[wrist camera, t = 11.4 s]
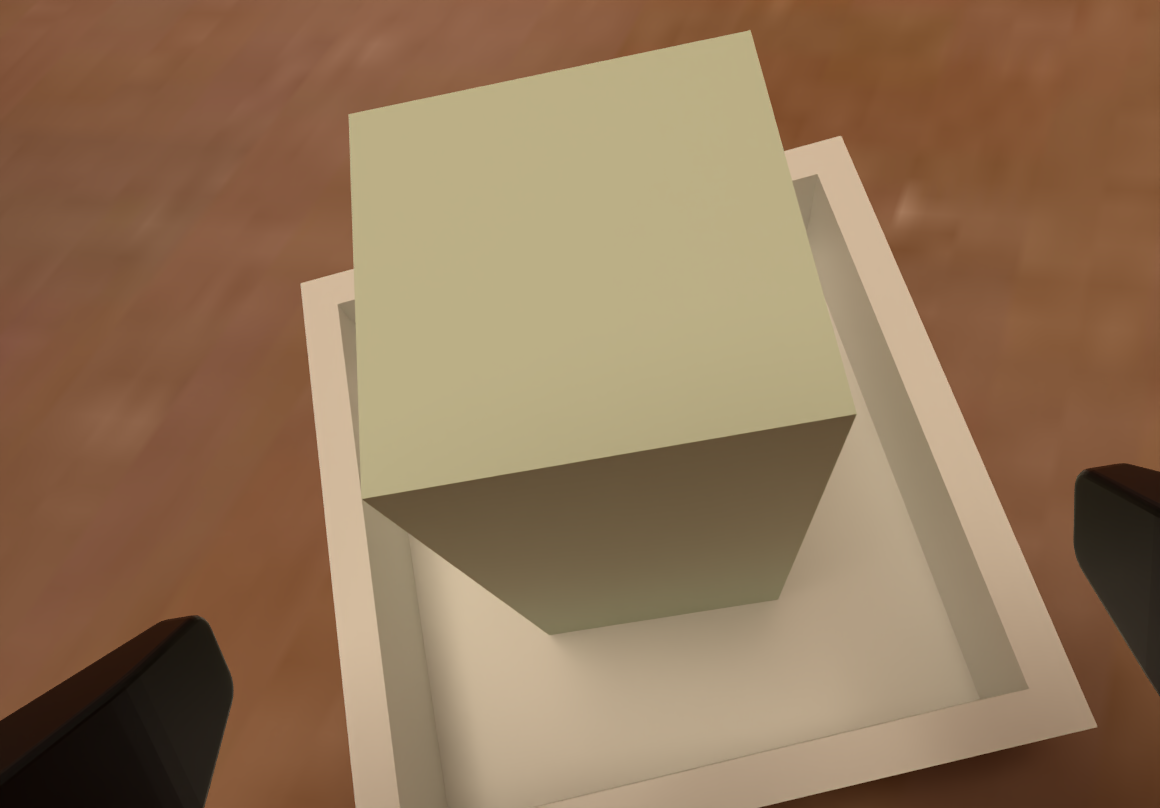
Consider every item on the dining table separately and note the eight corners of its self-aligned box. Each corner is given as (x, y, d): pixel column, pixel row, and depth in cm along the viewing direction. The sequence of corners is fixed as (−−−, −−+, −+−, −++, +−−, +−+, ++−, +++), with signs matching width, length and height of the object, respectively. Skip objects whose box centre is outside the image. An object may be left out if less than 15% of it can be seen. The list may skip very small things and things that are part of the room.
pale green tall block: (777, 599, 18) (856, 413, 8) (549, 635, 19) (361, 499, 9) (731, 387, 20) (750, 30, 10) (525, 424, 21) (348, 114, 11)
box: (1026, 732, 17) (1097, 727, 14) (427, 874, 18) (365, 901, 15) (822, 224, 22) (840, 135, 19) (358, 349, 23) (300, 283, 20)
